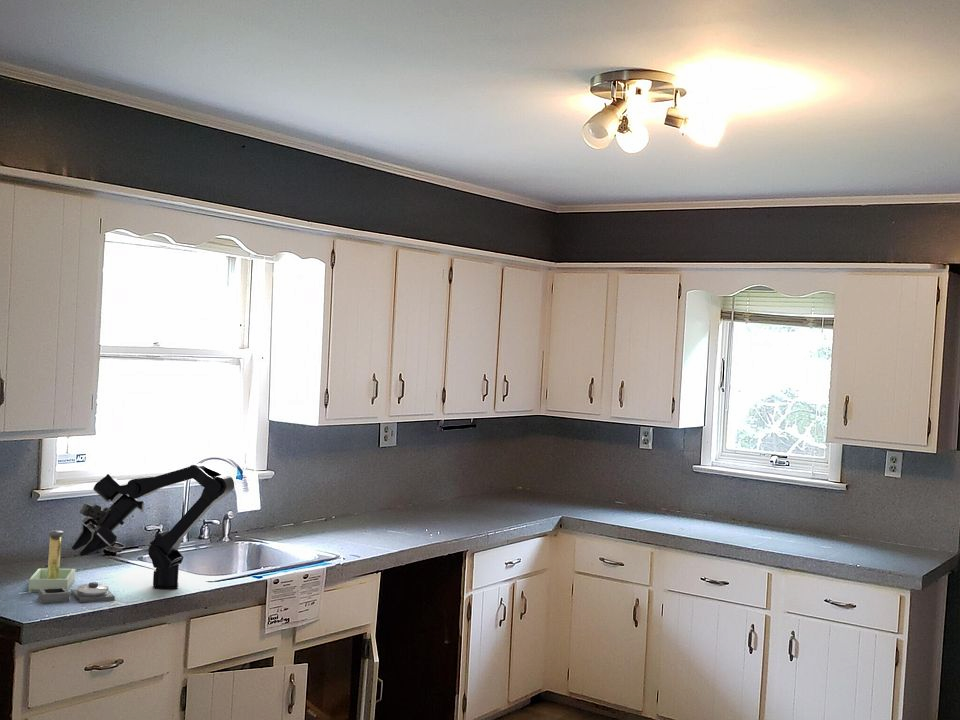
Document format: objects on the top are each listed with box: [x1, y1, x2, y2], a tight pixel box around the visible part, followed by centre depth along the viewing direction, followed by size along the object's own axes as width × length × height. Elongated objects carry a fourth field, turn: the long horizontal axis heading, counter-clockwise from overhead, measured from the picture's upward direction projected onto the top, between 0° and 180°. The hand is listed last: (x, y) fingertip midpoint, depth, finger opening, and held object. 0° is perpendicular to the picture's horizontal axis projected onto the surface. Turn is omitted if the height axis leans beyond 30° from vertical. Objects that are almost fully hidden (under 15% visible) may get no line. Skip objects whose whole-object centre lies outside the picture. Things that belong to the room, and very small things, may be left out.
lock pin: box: [47, 529, 65, 579], centre depth 281 cm, size 4×4×15 cm
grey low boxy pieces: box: [37, 581, 116, 605], centre depth 269 cm, size 18×11×4 cm, turn 124°
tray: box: [27, 568, 76, 593], centre depth 281 cm, size 10×14×4 cm
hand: (76, 552), depth 284 cm, fingers open, 9 cm apart
